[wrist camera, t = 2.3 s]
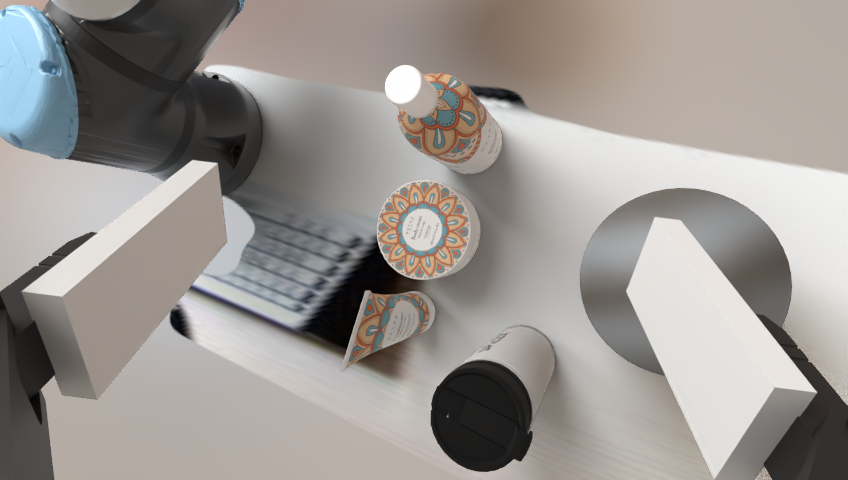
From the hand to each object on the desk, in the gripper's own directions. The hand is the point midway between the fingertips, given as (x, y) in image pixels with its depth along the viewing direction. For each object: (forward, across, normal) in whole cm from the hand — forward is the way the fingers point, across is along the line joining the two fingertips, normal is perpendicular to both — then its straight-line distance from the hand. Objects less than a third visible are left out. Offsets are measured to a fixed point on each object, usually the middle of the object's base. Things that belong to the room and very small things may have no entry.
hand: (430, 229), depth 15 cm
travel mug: (+23, +11, -26) cm, 37 cm away
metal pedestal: (+25, +21, -16) cm, 36 cm away
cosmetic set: (+32, +1, -18) cm, 37 cm away
